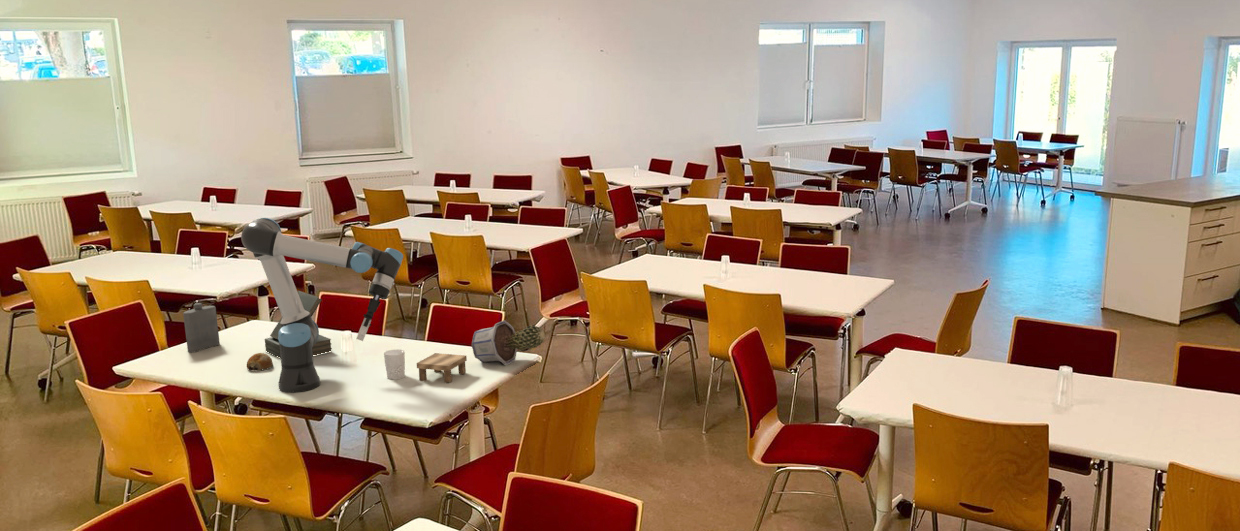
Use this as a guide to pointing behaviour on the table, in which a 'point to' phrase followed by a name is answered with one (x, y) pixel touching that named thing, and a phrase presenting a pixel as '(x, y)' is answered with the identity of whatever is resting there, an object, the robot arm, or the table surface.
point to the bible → (311, 305)
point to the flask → (201, 327)
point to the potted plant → (504, 342)
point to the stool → (442, 365)
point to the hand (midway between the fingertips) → (360, 337)
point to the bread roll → (259, 362)
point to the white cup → (395, 363)
